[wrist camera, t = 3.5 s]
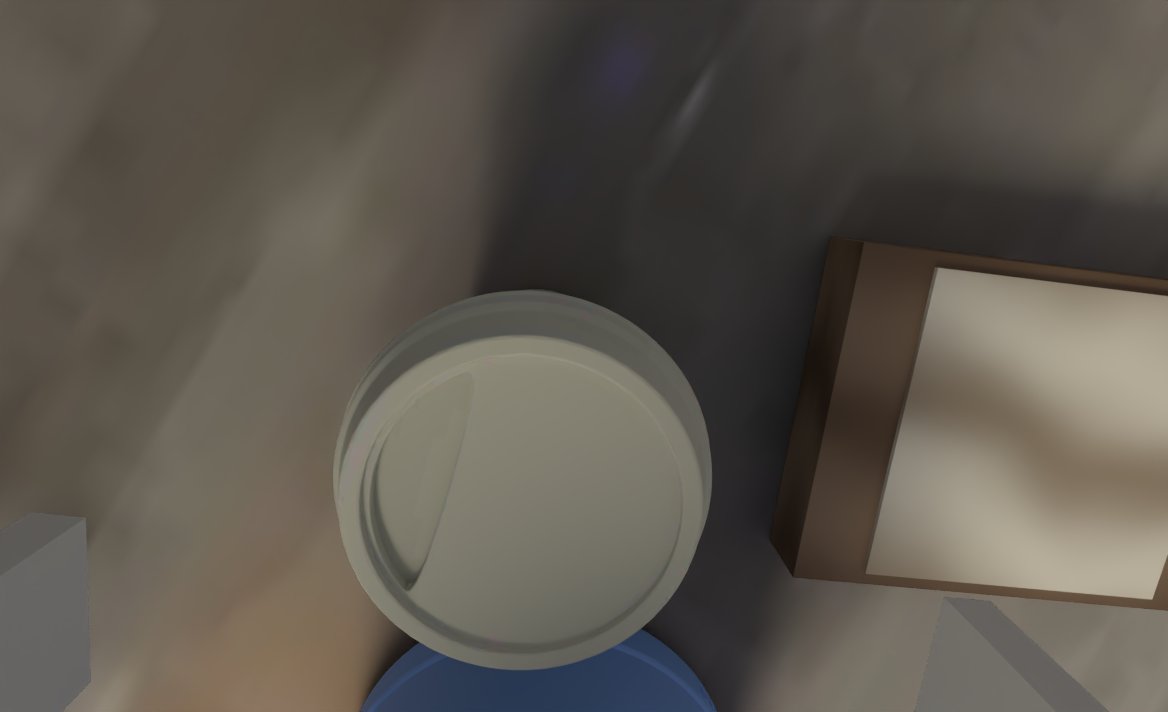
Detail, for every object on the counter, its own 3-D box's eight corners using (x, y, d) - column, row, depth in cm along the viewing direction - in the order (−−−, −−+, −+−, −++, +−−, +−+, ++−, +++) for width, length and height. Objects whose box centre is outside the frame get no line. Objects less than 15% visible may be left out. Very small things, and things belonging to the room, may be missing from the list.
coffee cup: (547, 199, 25) (543, 209, 13) (696, 377, 26) (813, 529, 15) (369, 355, 26) (216, 496, 14) (525, 517, 27) (506, 762, 16)
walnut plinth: (830, 236, 25) (866, 242, 22) (1241, 288, 26) (1326, 300, 23) (769, 539, 28) (794, 580, 25) (1144, 574, 29) (1210, 617, 26)
